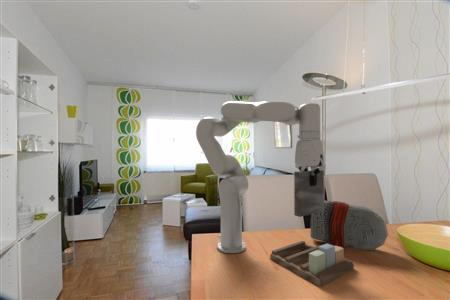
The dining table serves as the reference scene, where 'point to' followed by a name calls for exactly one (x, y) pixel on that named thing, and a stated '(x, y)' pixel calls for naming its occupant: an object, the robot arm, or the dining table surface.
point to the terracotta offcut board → (339, 255)
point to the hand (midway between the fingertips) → (309, 184)
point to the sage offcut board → (317, 262)
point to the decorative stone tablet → (349, 226)
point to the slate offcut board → (328, 254)
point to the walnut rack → (304, 269)
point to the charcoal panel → (308, 194)
